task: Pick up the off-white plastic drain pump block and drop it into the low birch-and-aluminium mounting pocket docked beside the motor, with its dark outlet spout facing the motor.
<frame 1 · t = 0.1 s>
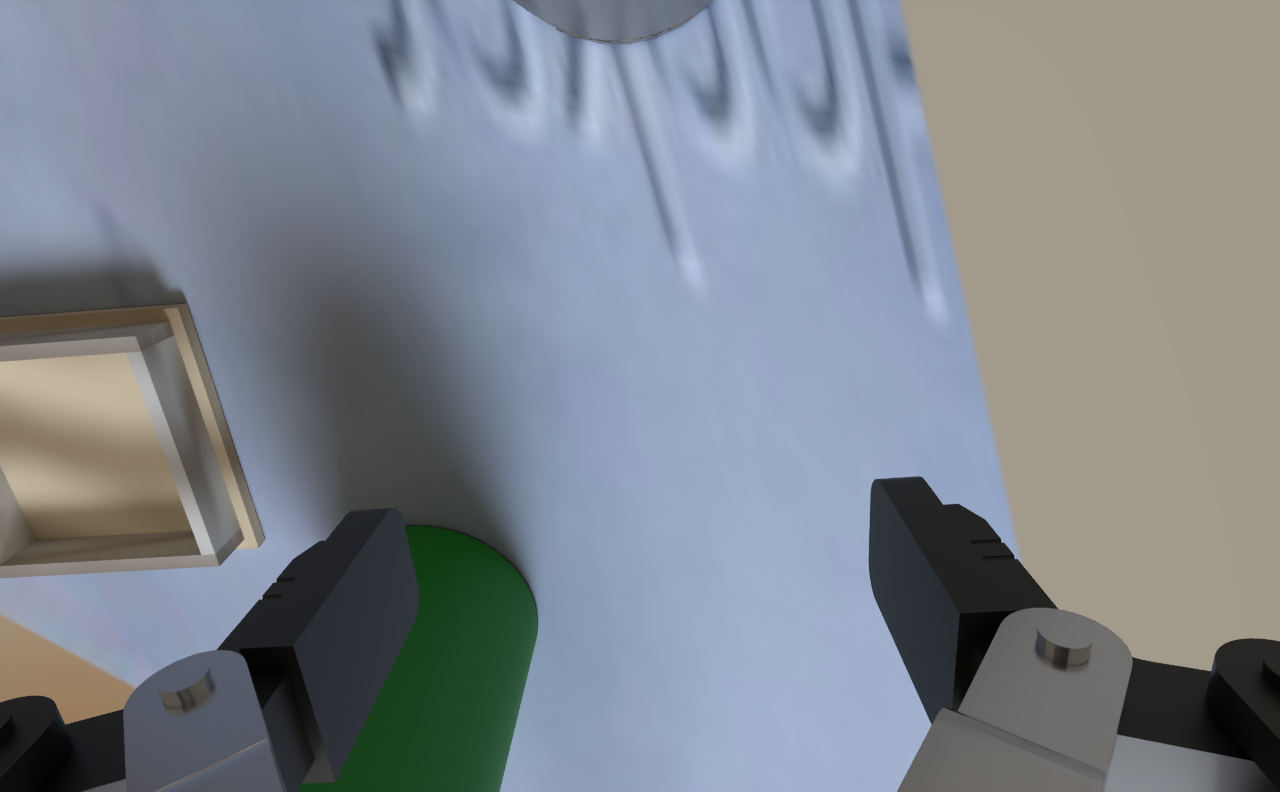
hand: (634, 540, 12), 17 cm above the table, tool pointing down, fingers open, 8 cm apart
mount pocket: (103, 438, 31), on the table
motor: (443, 606, 35), on the table
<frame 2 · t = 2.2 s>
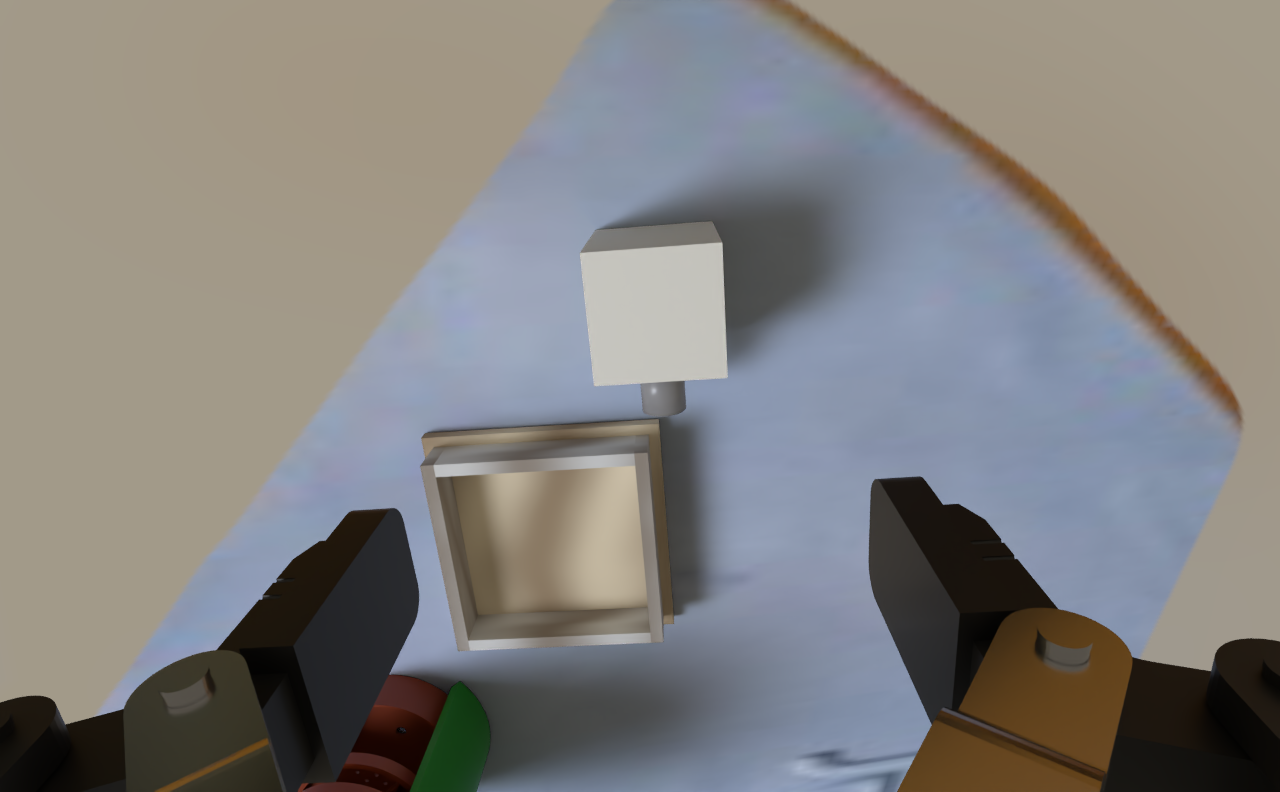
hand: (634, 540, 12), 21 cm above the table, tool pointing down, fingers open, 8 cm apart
mount pocket: (555, 528, 36), on the table
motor: (410, 732, 42), on the table
drain pump: (657, 283, 32), on the table
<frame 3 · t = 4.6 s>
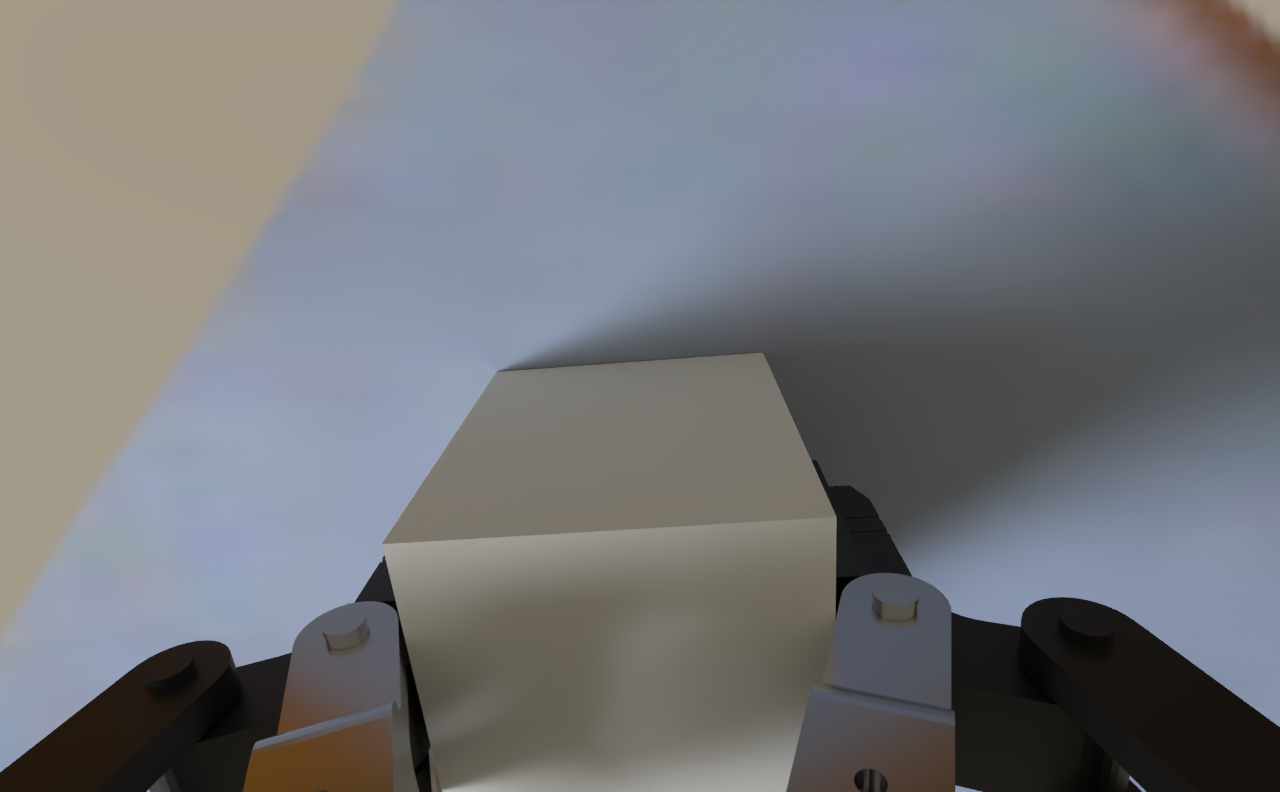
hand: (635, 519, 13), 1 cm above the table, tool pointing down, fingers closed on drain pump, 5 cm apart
drain pump: (639, 481, 14), on the table, touching gripper
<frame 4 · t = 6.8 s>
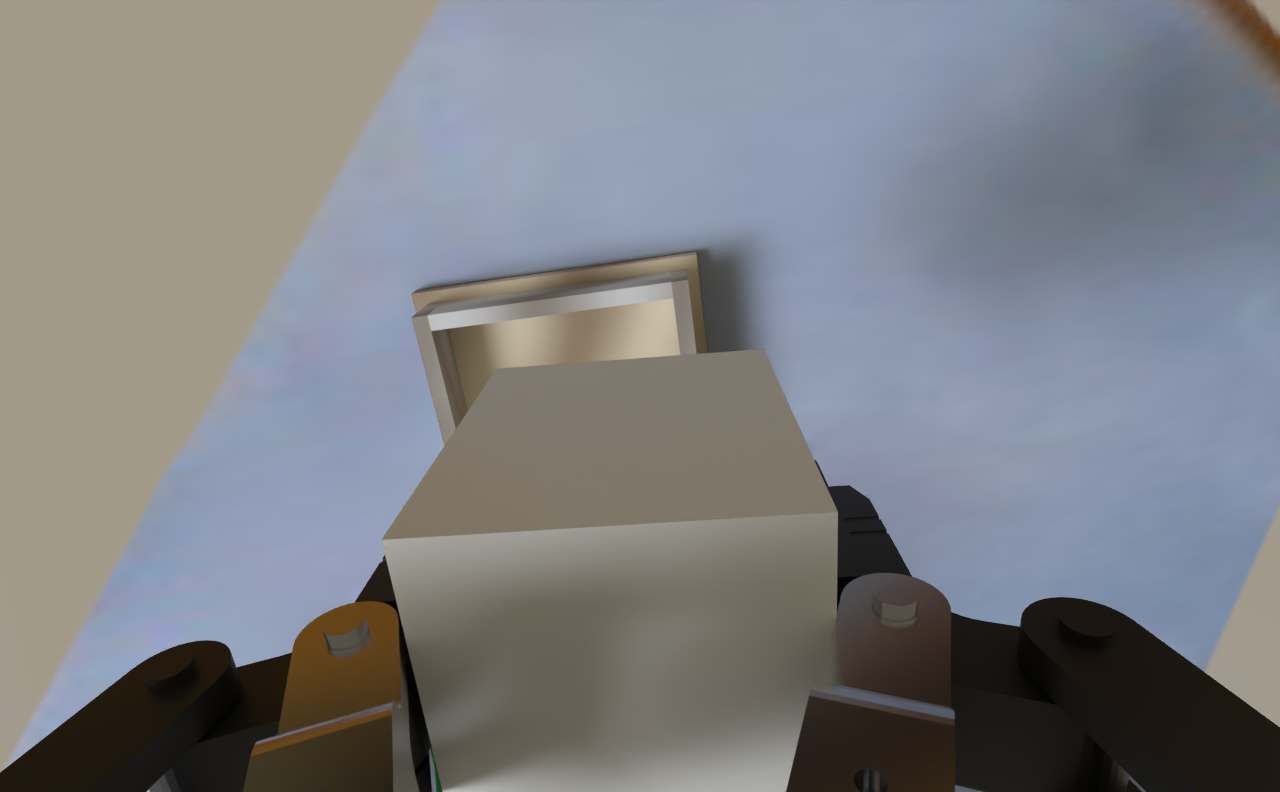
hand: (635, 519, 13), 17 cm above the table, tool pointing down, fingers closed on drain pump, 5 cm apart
mount pocket: (578, 402, 30), on the table
drain pump: (640, 478, 14), point 15 cm above the table, touching gripper
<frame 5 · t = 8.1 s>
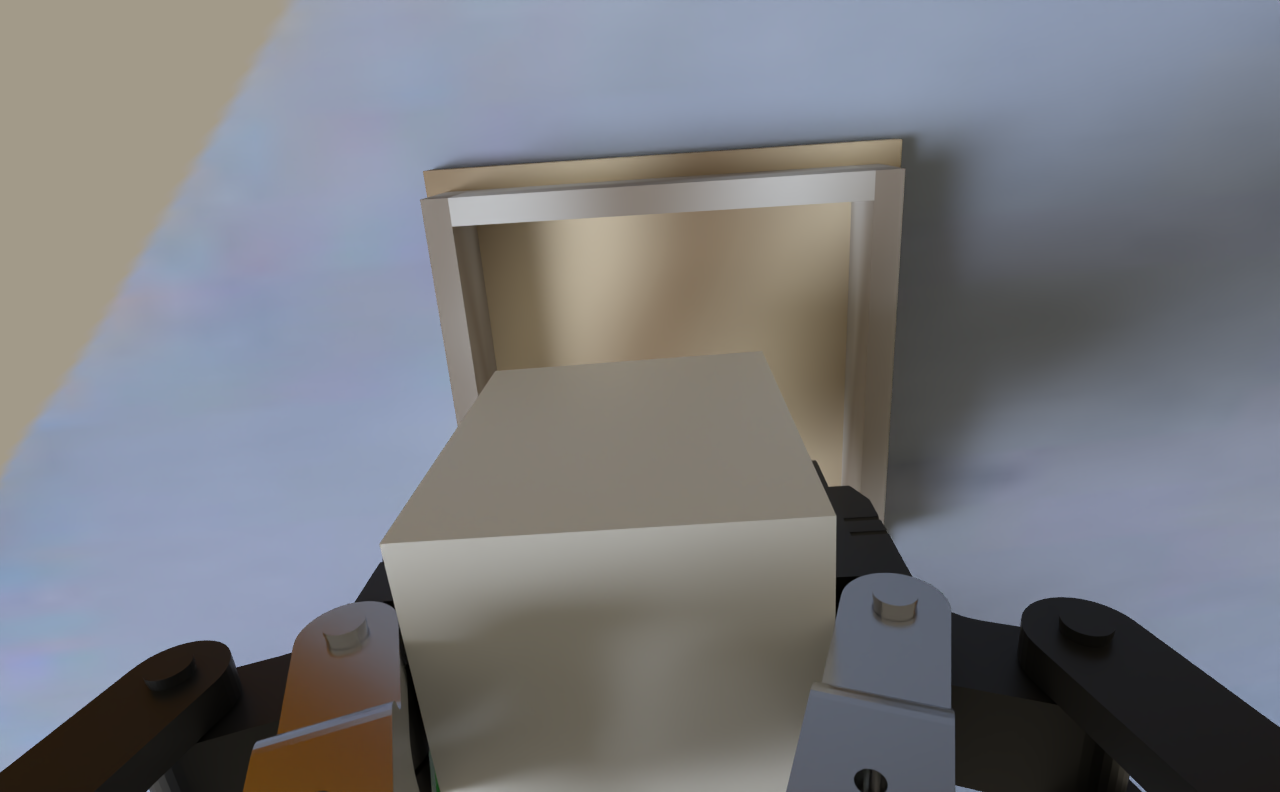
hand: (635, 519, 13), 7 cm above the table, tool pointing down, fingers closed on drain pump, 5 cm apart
mount pocket: (670, 374, 19), on the table
drain pump: (639, 480, 14), point 6 cm above the table, touching gripper
when the fingers open (4 cm above the table, at t = 9.2 s): drain pump drops 2 cm, resting on mount pocket.
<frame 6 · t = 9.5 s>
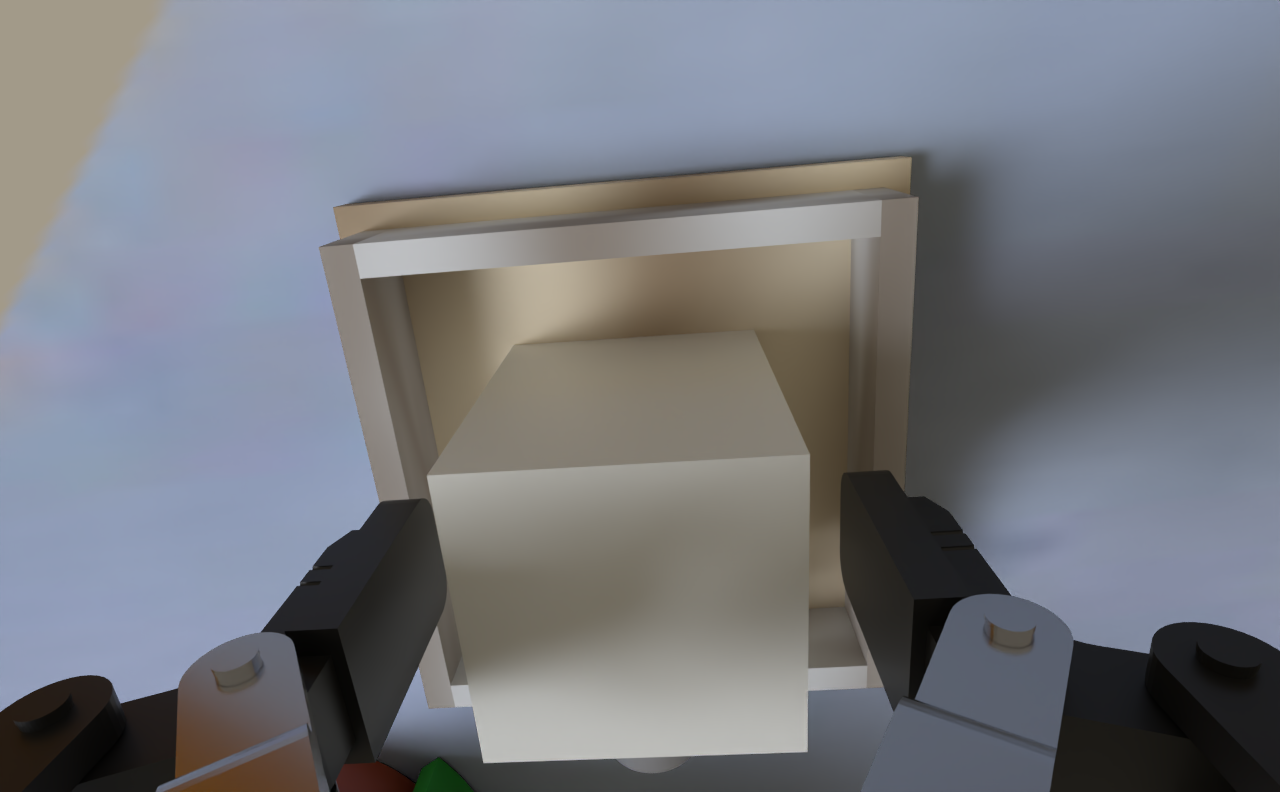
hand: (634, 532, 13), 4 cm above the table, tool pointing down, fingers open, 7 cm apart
mount pocket: (641, 436, 16), on the table
drain pump: (641, 446, 16), point 1 cm above the table, touching mount pocket
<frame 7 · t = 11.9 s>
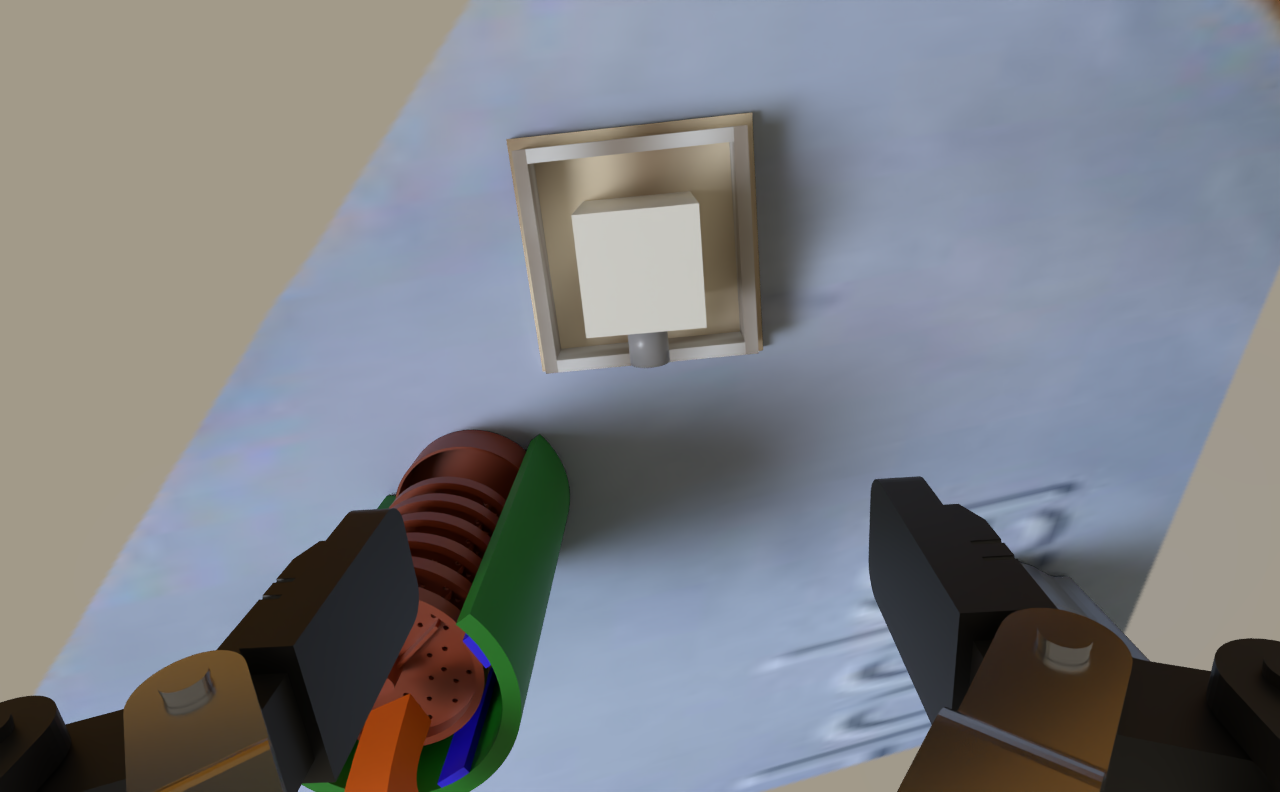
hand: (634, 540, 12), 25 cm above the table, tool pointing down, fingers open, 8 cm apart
mount pocket: (641, 248, 35), on the table
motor: (486, 499, 40), on the table
drain pump: (641, 249, 35), point 1 cm above the table, touching mount pocket
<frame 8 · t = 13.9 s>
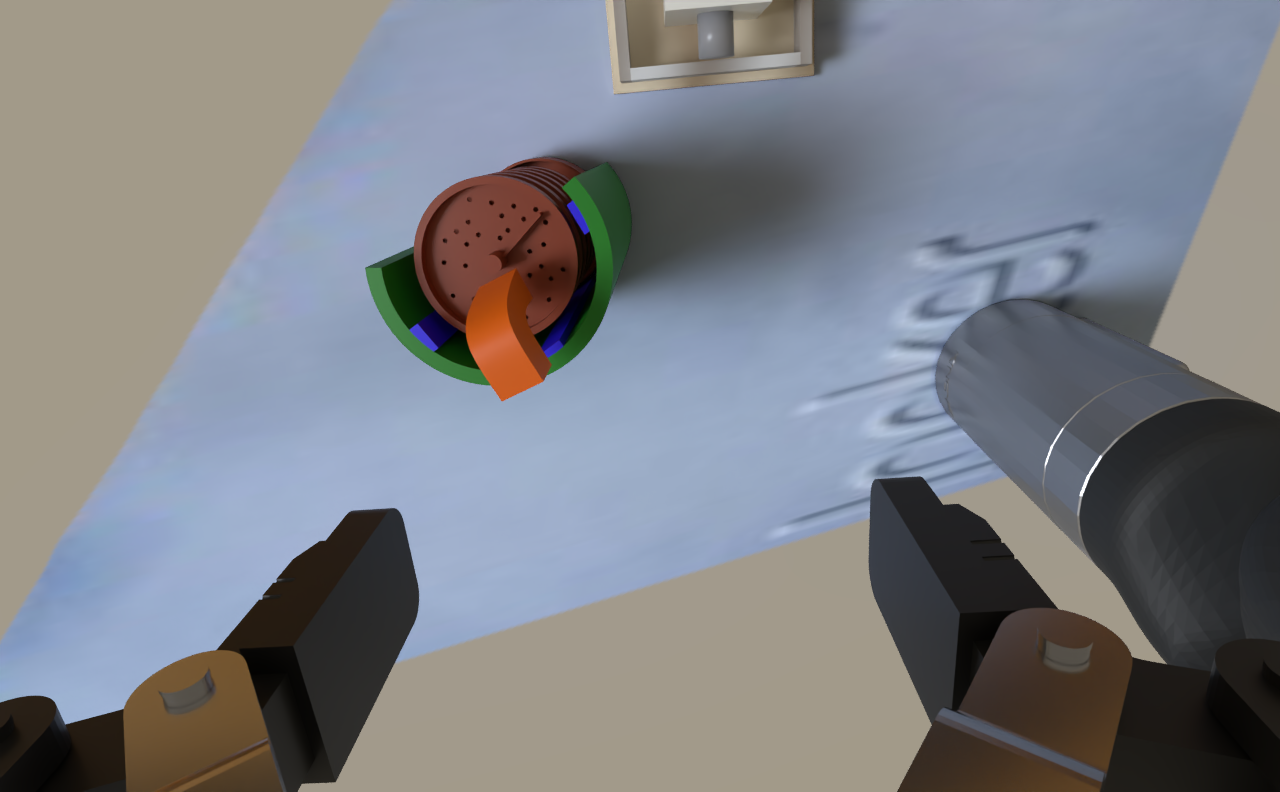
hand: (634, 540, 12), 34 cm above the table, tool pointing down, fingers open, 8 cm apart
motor: (555, 230, 44), on the table
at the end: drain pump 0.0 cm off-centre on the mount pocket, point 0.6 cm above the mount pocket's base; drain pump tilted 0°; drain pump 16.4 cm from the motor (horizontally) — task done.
